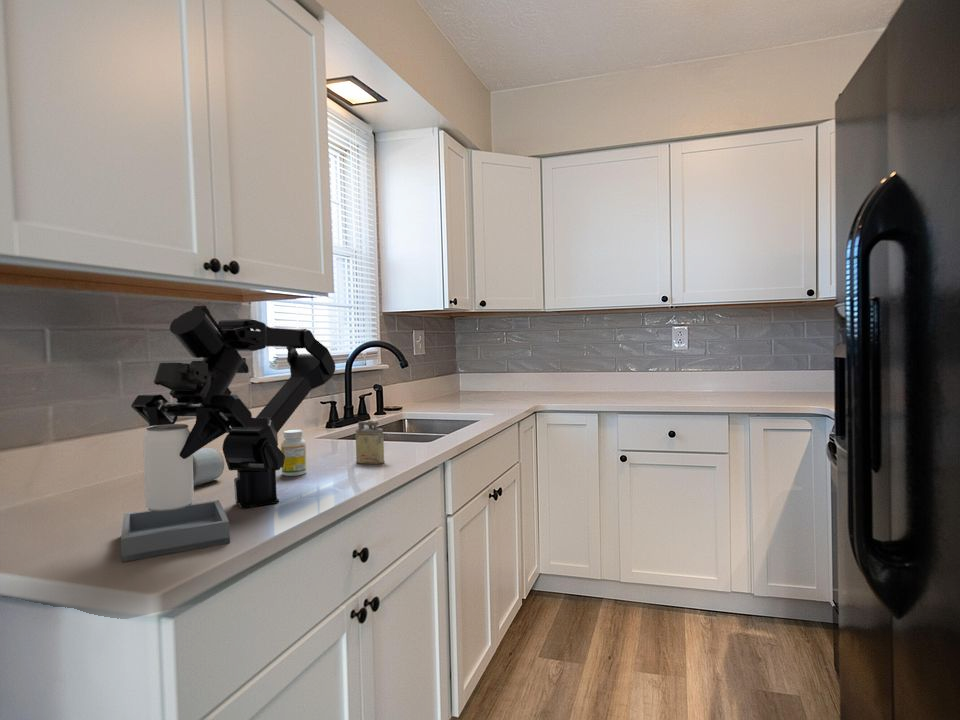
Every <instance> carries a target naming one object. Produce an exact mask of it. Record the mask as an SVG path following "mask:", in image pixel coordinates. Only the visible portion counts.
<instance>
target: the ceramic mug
mask: <svg viewBox="0 0 960 720" xmlns="http://www.w3.org/2000/svg"><path fill="white" fill-rule="evenodd" d="M224 459H225V458H224V456H223V455H222V453H221V452H220V451H219V450H217V449H215V448H213V447H212V448H211V447H202V448H201V449H199V450H198V451H196V452H195V453H193V486H194V487H196V485H197V486H199V485H202V484H206V482H207V483H210V482H213V481H215V480H217V479H218V478H220V477H221V476H222V474H223V472H224V470H225V460H224Z"/></svg>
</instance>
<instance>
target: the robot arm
mask: <svg viewBox="0 0 960 720" xmlns="http://www.w3.org/2000/svg"><path fill="white" fill-rule="evenodd" d="M169 331H170V333H172V335H173V336H174V337H175V339H177V341H178V342H179V343H180V345H181V346H182V347H183V348H184V349H185V351H187V353H188V354H189V356H191V357H192V358H195V359H200V358H202V360H192V361H191V362H190V363H182V362H160V363H158V367H157V370H156V373H155V377H154V380H153V384H155V385H156V386H162V387H164V388H167V389H168V390H170V391H169V395H170V396H171V397H172V398H173V399H176V402H169V400H167V399H166V398H165V397H164V396H163V395H162V394H139V395H137V396H136V398H135V399H134V400H133V402H132V403H131V405H130V407H131V408H132V410H134V411H135V412H136V413H137V414H138V415H139V416H140V417H141V418H142V419H144V420H145V421H146V422H147V424H149V425H148V427H151V426H157V425H166V424H176V422H177V420H178V417H185V418H195V424H194V425H193V427H192V429H191V430H190V434H189V436H188V438H187V440H186V442H185V445H184V447H183V449H182V451H181V452H180V457H182V458H183V459H186V458H187V457H189V456H190V455H192V454H193V453H195V452H196V451H198V450H199V449H202V448H205V446H208V445H209V443H211V442H213V441H215V440H216V439H218V438H219V437H221V436H223V435H225V434H226V436H225V438H224V440H223V443H222V453H223V457H224V459H225V462H226V465H227V466H226V467H227V468H228V471H237V472H236V473H237V475H236V477H234V480H233V482H234V500H235V502H236V503H237V504H238V505H239V506H240V508H242V509H245V508H251V507H257V506H263V505H271V504H277V503H280V499H279V498H278V497H277V473H276V471H280V470H281V469H282V467H283V465H284V459H285V455H284V454H283V453H282V451H281V448H279V446H278V445H279V438H278V437H279V436H278V433H279V432H280V430H281V429H282V428H283V427H284V425H285V424H286V423H287V421H288V420H289V419H290V417H292V415H293V414H294V412H295V411H296V410H297V409H298V407H299V406H300V405H301V404H302V402H303V401H304V399H306V398H307V396H308V394H310V392H311V391H312V390H314V389H316V388H319V387H321V386H323V385H325V384H326V383H327V382H329V381H330V380H331V379H332V378H333V376H334V374H335V372H336V363H335V360H334V358H333V356H332V354H331V352H330V351H329V349H328V348H327V346H326V345H324V344H322V343H321V342H320V341H319V340H317V339H316V338H315V336H314V334H313V332H312V331H311V330H310V329H307V328H286V327H284V328H283V327H273V326H268V325H267V324H266V323H265V322H264V321H260V320H258V319H255V318H237V319H236V318H233V319H221V320H219V321H218V323H217V321H216V320H215V318H214V317H213V315H212V314H211V312H210V310H209V309H208V308H207V306H206V305H195V306H193V308H192V309H191V310H189V311H186V312H185V313H182V314H181V315H179V316H178V317H177V318H174V319H173V320H172V322H171V323H170V326H169ZM266 347H267V348H268V347H270V348H271V347H272V348H273V347H274V348H278V347H279V348H286V349H287V357H286V360H287V363H288V365H289V371H290V377H289V378H288V379H287V380H286V382H285V383H284V384H283V385H282V386H281V388H279V390H278V391H277V392H276V394H275V395H273V397H272V398H271V399H270V400H269V401H268V403H267V404H266V405H265V406H264V408H263V409H262V410H261V411H260V412H259V413H258V414H257V416H255V417H252V415H253V414H252V412H251V410H250V409H249V408H248V407H247V405H246V404H245V403H244V402H243V401H242V399H241V398H240V397H239V396H238V394H232V391H231V390H230V388H229V387H230V385H231V383H232V381H233V380H234V378H235V376H236V375H237V374H249V371H250V370H249V366H248V364H247V359H246V358H245V357H242V355H241V354H240V353H239V352H255V351H256V352H257V351H259V350H264V349H266ZM297 349H305V350H306V351H307V353H308V354H307V353H304V354H303V353H301V354H299V352H298V351H297Z"/></svg>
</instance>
